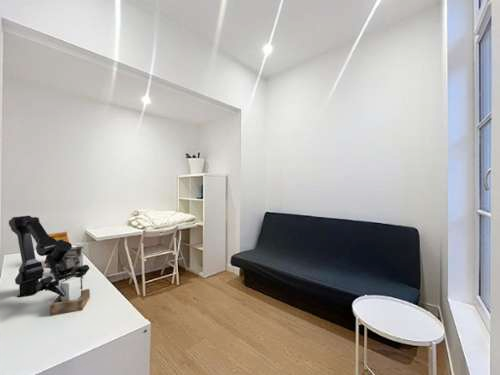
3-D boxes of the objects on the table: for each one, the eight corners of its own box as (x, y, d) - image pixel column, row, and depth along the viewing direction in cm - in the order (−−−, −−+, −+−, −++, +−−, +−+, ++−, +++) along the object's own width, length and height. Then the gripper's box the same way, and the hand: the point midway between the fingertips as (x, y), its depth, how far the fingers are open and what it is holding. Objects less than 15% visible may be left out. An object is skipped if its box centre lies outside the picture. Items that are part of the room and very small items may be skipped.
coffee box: (62, 278, 129) (61, 250, 128) (65, 274, 134) (64, 247, 134) (81, 275, 133) (80, 248, 133) (83, 271, 139) (83, 245, 138)
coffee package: (72, 263, 152) (72, 232, 152) (48, 269, 142) (48, 235, 142) (68, 260, 158) (67, 230, 158) (44, 265, 148) (44, 233, 148)
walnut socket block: (50, 316, 91) (49, 305, 91) (61, 302, 101) (60, 293, 101) (82, 310, 96) (82, 299, 95) (89, 298, 106) (89, 288, 106)
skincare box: (73, 302, 102) (72, 276, 102) (81, 303, 101) (81, 277, 101) (60, 310, 96) (60, 282, 95) (69, 310, 95) (69, 283, 95)
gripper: (39, 260, 91) (55, 291, 87) (86, 248, 108) (102, 273, 104) (28, 276, 94) (44, 307, 90) (76, 261, 111) (91, 287, 107)
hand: (73, 292), depth 98 cm, fingers closed on skincare box, 7 cm apart
